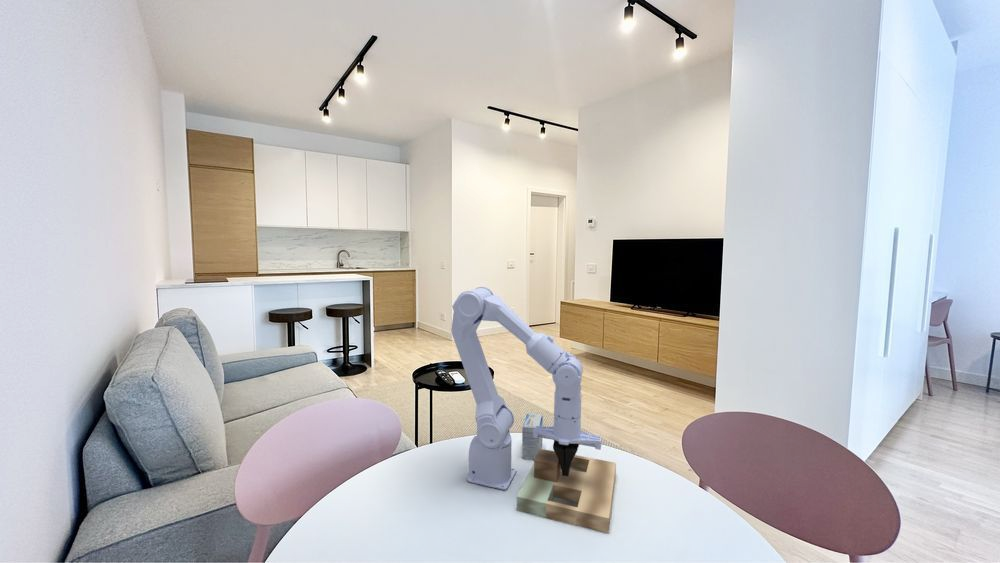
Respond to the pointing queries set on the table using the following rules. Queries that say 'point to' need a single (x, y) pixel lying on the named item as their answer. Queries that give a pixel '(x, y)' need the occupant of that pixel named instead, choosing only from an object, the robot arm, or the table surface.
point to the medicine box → (531, 436)
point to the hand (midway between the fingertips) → (565, 473)
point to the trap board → (573, 494)
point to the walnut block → (547, 466)
